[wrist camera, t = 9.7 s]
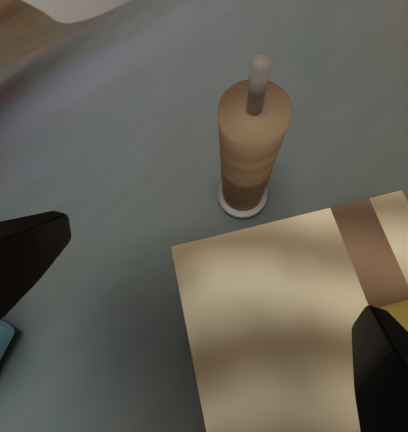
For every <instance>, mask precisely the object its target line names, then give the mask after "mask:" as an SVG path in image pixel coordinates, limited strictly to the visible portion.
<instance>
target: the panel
mask: <svg viewBox="0 0 408 432" xmlns="http://www.w3.org/2000/svg"><path fill="white" fill-rule="evenodd" d="M171 250H172V255H173V260H174V266H175V271H176V276H177V281H178V286H179V292H180V297H181V302H182V307H183V313H184V318H185V323H186V328H187V334H188V339H189V344H190V349H191V354H192V360H193V365H194V370H195V375H196V381H197V386H198V391H199V396H200V402H201V407H202V412H203V417H204V422H205V428H206V432H361V431H360V425H359V418H358V412H357V406H356V399H355V391H354V376H353V356H352V335H351V331H352V326H353V324H354V322H355V321H356V320H357V318H358V317H359V315H360V314H361V312H362V311H363V309H364V308H365V307H366V306H368V305H372V306H375V307H382V306H386V305H390V304H394V303H398V302H401V301H405V300H408V202H407V199H406V197H405V195H404V193H403V191H397V192H393V193H389V194H385V195H381V196H377V197H373V198H369V199H365V200H361V201H356V202H352V203H348V204H344V205H340V206H336V207H332V208H328V209H324V210H319V211H315V212H311V213H307V214H303V215H299V216H295V217H291V218H287V219H283V220H278V221H274V222H270V223H266V224H262V225H258V226H254V227H250V228H246V229H241V230H237V231H233V232H229V233H225V234H221V235H217V236H213V237H209V238H205V239H200V240H196V241H192V242H188V243H184V244H180V245H176V246H172V247H171Z"/></svg>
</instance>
